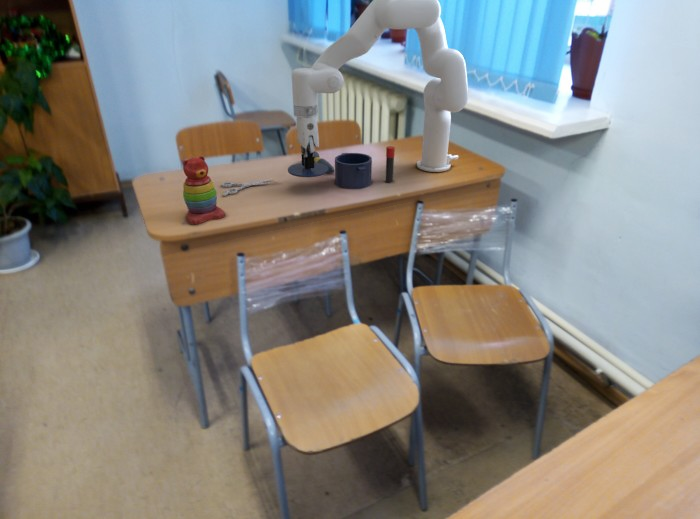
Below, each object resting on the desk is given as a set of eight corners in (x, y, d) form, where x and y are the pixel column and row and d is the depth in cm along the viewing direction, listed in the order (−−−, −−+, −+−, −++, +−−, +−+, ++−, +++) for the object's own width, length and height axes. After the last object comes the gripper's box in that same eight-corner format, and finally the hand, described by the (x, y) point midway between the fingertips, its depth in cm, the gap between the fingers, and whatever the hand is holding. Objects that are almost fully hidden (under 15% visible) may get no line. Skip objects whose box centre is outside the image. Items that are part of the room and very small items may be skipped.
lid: (321, 163, 168) (321, 146, 165) (334, 176, 157) (333, 157, 154) (283, 168, 164) (282, 150, 161) (293, 181, 153) (292, 162, 150)
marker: (391, 179, 170) (392, 145, 164) (394, 182, 168) (396, 148, 161) (384, 180, 169) (385, 146, 163) (387, 183, 167) (388, 149, 161)
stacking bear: (192, 226, 138) (180, 166, 129) (180, 214, 145) (169, 157, 136) (227, 217, 143) (219, 159, 134) (214, 205, 151) (206, 150, 142)
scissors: (216, 183, 165) (272, 174, 172) (216, 185, 165) (272, 176, 173) (223, 194, 157) (281, 184, 164) (223, 196, 157) (281, 186, 164)
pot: (360, 171, 177) (360, 149, 173) (380, 188, 163) (380, 164, 158) (328, 175, 173) (327, 153, 169) (345, 193, 159) (344, 169, 155)
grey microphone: (341, 172, 176) (341, 159, 174) (330, 175, 174) (330, 162, 171) (311, 159, 190) (311, 147, 187) (301, 162, 187) (300, 149, 185)
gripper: (324, 115, 145) (326, 173, 154) (309, 104, 158) (312, 158, 167) (300, 117, 142) (303, 176, 152) (287, 106, 156) (291, 160, 165)
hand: (308, 166), depth 159 cm, fingers closed on lid, 2 cm apart
